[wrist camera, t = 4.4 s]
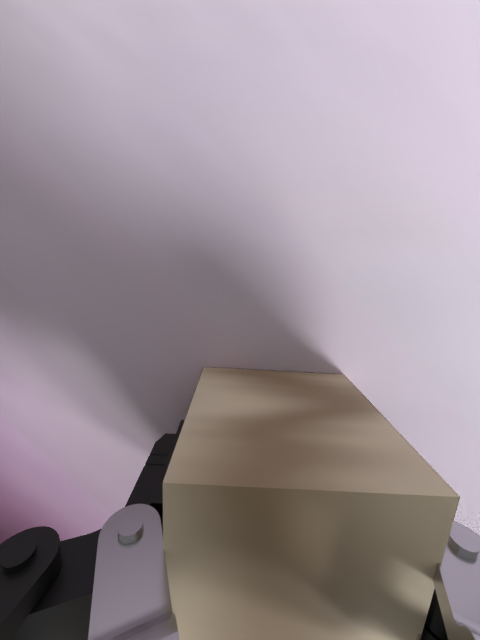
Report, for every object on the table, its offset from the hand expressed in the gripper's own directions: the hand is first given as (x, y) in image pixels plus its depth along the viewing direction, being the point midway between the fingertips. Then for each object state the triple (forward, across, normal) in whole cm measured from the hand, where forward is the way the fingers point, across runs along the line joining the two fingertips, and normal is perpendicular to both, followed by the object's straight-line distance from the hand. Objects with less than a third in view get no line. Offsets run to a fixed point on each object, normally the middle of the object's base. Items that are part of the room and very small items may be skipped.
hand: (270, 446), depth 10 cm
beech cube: (+1, 0, 0) cm, 1 cm away
